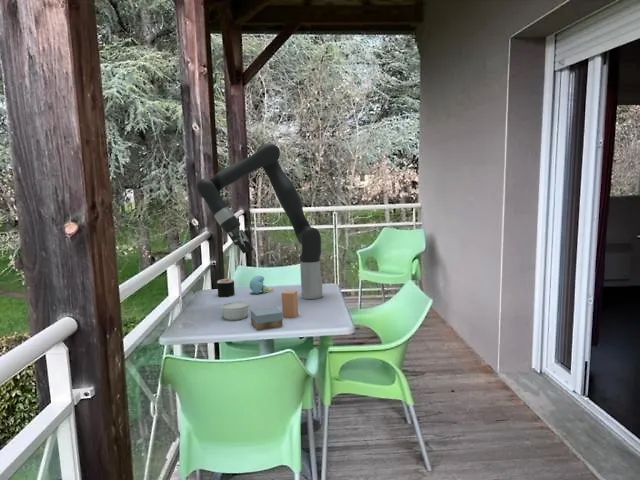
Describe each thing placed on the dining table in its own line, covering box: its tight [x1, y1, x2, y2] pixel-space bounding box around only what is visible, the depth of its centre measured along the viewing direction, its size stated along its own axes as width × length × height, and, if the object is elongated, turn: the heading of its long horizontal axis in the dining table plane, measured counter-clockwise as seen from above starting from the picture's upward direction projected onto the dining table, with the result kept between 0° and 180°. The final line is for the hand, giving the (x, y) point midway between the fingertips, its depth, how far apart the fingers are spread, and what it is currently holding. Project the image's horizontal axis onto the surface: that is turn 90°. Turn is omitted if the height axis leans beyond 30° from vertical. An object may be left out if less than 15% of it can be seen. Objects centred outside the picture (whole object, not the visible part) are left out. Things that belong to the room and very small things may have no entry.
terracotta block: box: [281, 290, 299, 319], centre depth 205 cm, size 5×5×10 cm
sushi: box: [216, 278, 236, 298], centre depth 246 cm, size 8×8×8 cm
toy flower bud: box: [249, 275, 274, 295], centre depth 248 cm, size 7×9×12 cm
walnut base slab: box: [250, 317, 284, 331], centre depth 194 cm, size 10×10×3 cm
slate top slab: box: [250, 306, 284, 324], centre depth 193 cm, size 10×10×3 cm
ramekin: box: [221, 301, 249, 321], centre depth 206 cm, size 11×11×5 cm
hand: (248, 251), depth 211 cm, fingers open, 8 cm apart
